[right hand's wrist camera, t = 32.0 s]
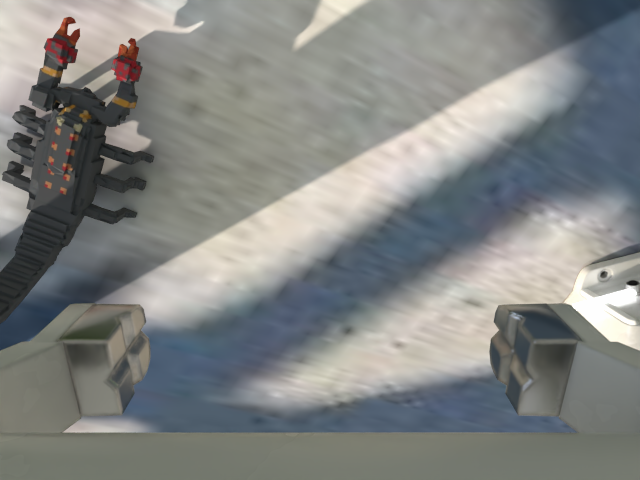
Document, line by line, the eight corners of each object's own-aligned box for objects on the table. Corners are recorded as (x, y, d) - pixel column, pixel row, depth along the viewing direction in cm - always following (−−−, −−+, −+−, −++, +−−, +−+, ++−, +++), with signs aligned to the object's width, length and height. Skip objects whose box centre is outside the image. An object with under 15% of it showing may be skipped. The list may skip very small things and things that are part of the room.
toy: (-3, 241, 49) (-175, 332, 32) (44, -7, 41) (-157, -62, 23) (114, 285, 51) (11, 392, 34) (184, 57, 42) (92, 48, 25)
